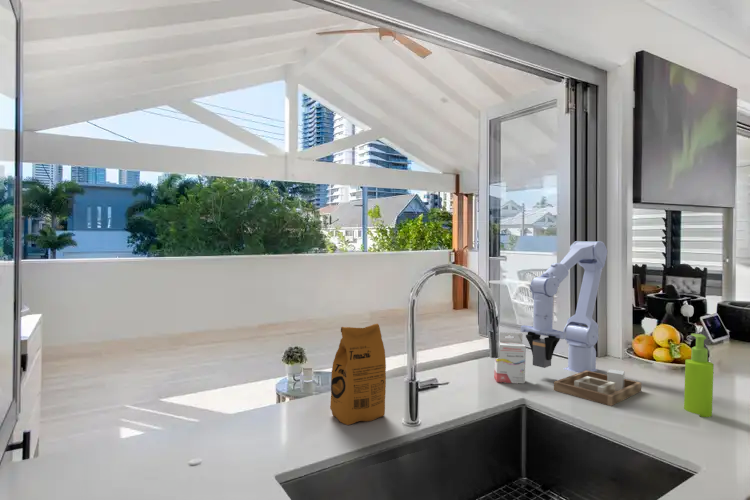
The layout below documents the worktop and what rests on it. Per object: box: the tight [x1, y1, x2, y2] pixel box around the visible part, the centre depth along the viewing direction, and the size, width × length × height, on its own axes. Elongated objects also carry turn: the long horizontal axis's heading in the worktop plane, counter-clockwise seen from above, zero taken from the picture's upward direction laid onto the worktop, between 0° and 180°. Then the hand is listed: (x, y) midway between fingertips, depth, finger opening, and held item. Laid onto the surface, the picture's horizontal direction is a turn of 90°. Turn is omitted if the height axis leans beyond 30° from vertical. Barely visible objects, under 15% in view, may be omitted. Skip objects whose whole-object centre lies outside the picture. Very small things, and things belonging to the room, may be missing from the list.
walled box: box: [553, 370, 642, 407], centre depth 132 cm, size 20×16×4 cm
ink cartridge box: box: [493, 331, 527, 384], centre depth 142 cm, size 9×5×15 cm, turn 84°
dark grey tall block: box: [532, 337, 552, 369], centre depth 144 cm, size 4×4×8 cm
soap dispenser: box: [683, 333, 714, 418], centre depth 118 cm, size 6×7×20 cm
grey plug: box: [606, 368, 626, 391], centre depth 134 cm, size 4×4×5 cm
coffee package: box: [329, 323, 387, 426], centre depth 111 cm, size 10×12×22 cm
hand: (542, 358), depth 144 cm, fingers closed on dark grey tall block, 4 cm apart
